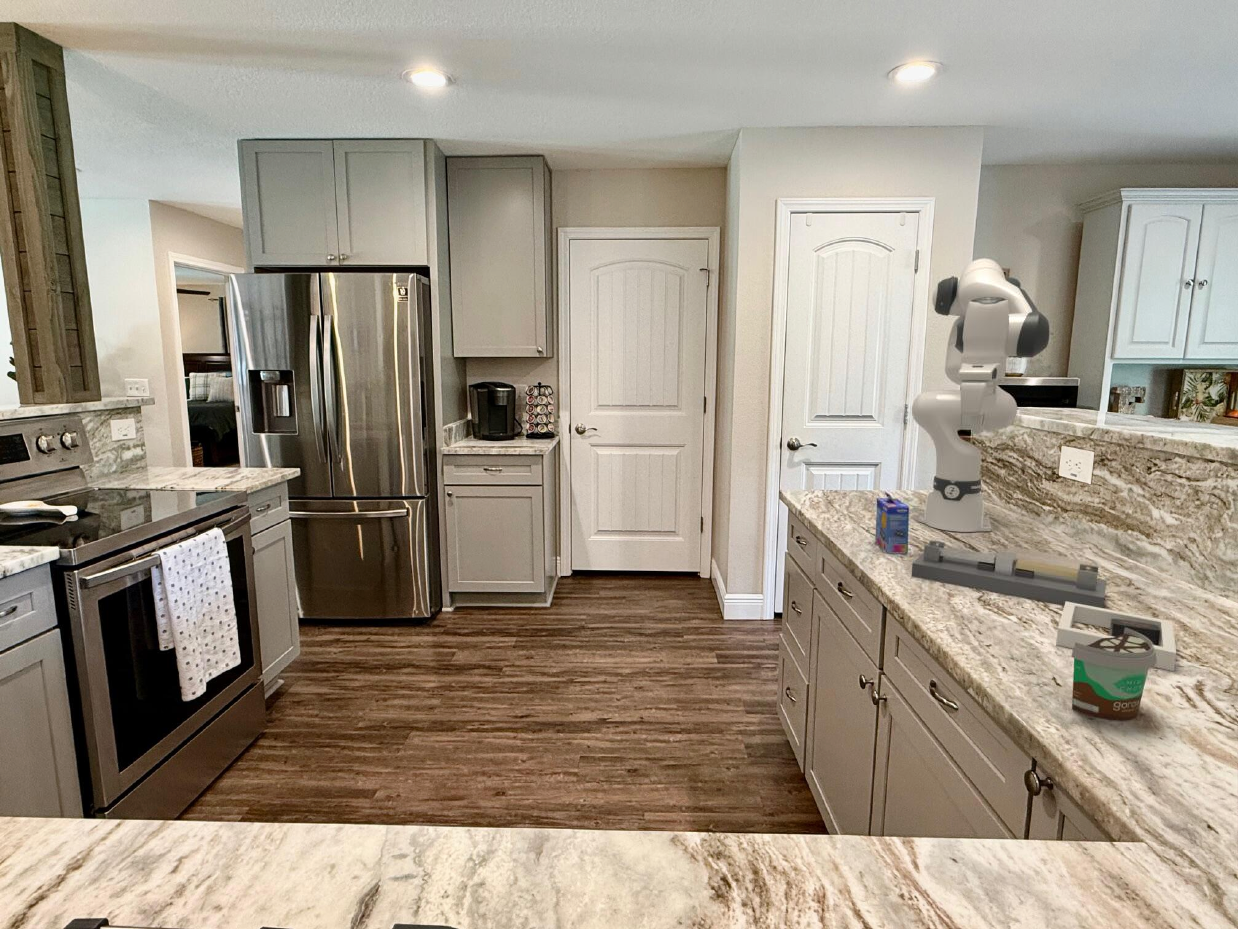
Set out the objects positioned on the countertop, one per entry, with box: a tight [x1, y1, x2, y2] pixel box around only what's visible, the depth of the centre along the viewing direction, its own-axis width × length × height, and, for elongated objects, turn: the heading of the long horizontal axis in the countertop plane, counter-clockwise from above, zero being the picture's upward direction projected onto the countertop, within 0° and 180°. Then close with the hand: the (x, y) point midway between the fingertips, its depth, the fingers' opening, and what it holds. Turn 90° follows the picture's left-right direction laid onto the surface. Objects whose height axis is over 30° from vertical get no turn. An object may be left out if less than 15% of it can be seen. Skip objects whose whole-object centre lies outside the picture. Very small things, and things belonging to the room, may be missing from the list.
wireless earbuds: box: [1108, 619, 1160, 646], centre depth 108 cm, size 5×7×3 cm, turn 61°
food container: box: [1070, 628, 1157, 722], centre depth 85 cm, size 12×6×10 cm, turn 114°
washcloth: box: [995, 546, 1093, 569], centre depth 146 cm, size 12×18×3 cm, turn 41°
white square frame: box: [1056, 601, 1177, 672], centre depth 107 cm, size 15×15×3 cm
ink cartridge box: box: [874, 491, 910, 555], centre depth 160 cm, size 10×6×14 cm, turn 174°
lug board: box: [911, 540, 1107, 608], centre depth 134 cm, size 12×34×6 cm, turn 51°
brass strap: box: [1016, 559, 1092, 579], centre depth 129 cm, size 3×13×2 cm, turn 51°
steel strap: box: [934, 545, 997, 563], centre depth 139 cm, size 3×13×2 cm, turn 51°
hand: (977, 433), depth 143 cm, fingers closed
